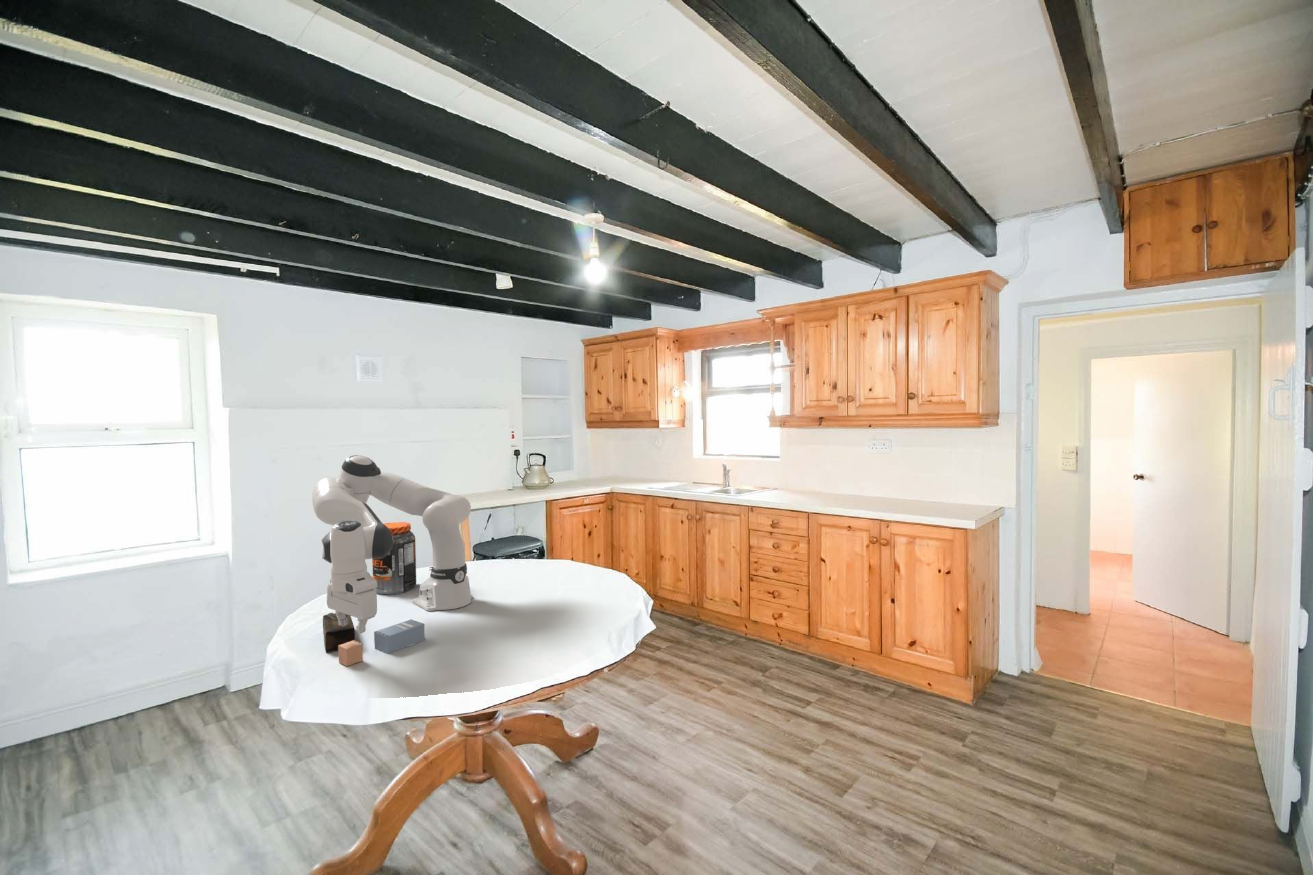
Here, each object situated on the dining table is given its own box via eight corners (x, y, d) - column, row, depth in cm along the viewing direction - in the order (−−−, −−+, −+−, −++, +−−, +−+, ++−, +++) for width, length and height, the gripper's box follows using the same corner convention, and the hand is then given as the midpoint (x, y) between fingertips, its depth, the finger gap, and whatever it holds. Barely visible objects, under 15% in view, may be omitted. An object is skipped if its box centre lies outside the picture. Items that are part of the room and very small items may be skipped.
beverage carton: (350, 627, 186) (350, 608, 185) (356, 648, 169) (355, 626, 169) (322, 633, 181) (321, 612, 181) (325, 654, 165) (324, 632, 165)
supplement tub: (365, 590, 224) (363, 525, 223) (403, 581, 237) (401, 519, 236) (386, 598, 215) (384, 530, 214) (424, 587, 227) (422, 523, 226)
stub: (338, 662, 159) (338, 644, 159) (354, 656, 162) (354, 639, 162) (347, 666, 156) (346, 648, 156) (362, 660, 160) (362, 642, 160)
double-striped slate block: (374, 648, 169) (374, 631, 168) (411, 634, 178) (411, 618, 178) (387, 653, 165) (387, 636, 164) (424, 639, 175) (424, 623, 174)
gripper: (319, 577, 161) (321, 625, 162) (357, 588, 150) (360, 640, 151) (341, 572, 167) (343, 618, 167) (380, 582, 155) (382, 632, 156)
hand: (351, 628), depth 159 cm, fingers open, 8 cm apart
